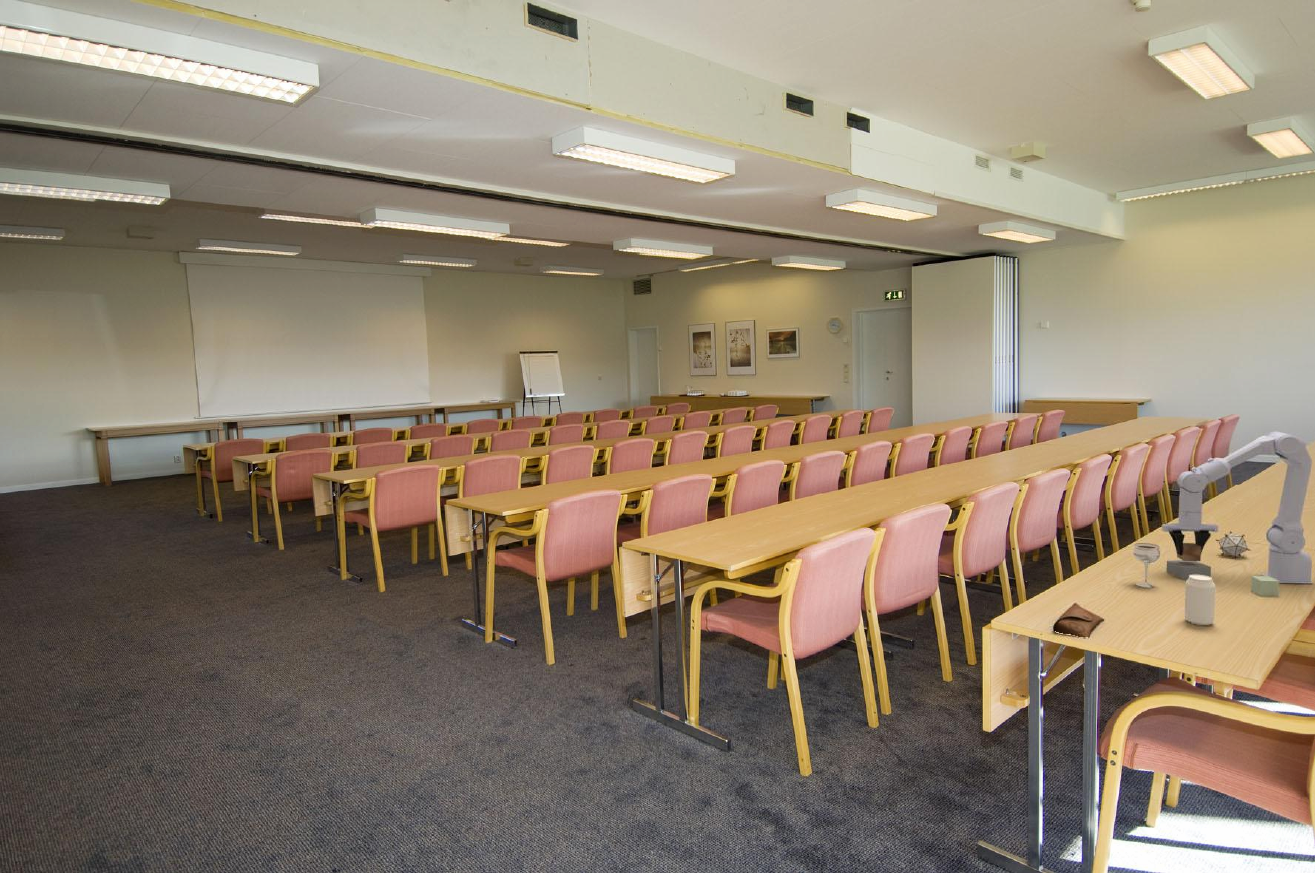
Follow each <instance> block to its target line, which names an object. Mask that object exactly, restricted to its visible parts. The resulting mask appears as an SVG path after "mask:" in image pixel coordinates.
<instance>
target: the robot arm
mask: <svg viewBox="0 0 1315 873" xmlns="http://www.w3.org/2000/svg"><path fill="white" fill-rule="evenodd" d="M1306 444H1307V443H1306V442H1304V440H1302V438H1299V437H1298V436H1297V435H1295V434H1290V433H1285V432H1281V431H1277V430H1275V431H1271V432H1268V433H1266V435H1262V436H1259V437H1257V438H1256V439H1254V440H1253V441H1251V442H1249V443H1248V444H1245V445H1244V446H1242V447H1241V448H1239V449H1238V450H1236V451H1234V452H1232V453H1230V454H1228V455H1227V456H1225V457H1223V458H1221V457H1214V458H1213V457H1210V458H1208V459H1206V460H1207V461H1206V462H1204V463H1203V464H1200V465H1198V466H1197V467H1195V466H1193V467H1192V468H1191V471H1190V470H1189V471H1184V472H1183V471H1182V472H1181V473H1180V474H1179V476H1178V478H1177V479H1176V483H1177V485H1178V487H1179V496H1178V498H1179V499H1178V500H1179V501H1178V503H1179V505H1178V523H1166V524H1165V523H1162V524H1161V531H1163V532H1165V533H1168V534H1169V535H1170V537H1171V539H1172V541H1173V544H1174V548H1175V550H1176V555H1177V554H1178V555H1182V553H1183V543H1184V542H1185V541H1184V540H1185V536H1186V535H1185V534H1183V532H1193V533H1194V540H1195V542H1194V543H1195V544H1197V545H1199V546H1201V554H1202V552H1203V549H1204V548H1205V545H1206V544H1207V542H1208V540H1209V539H1210V538H1211V536H1212V533H1211V532H1213V533H1218V532H1219V526H1218V525H1217V524H1209V523H1208V524H1207V523H1202V519H1203V518H1202V515H1203V512H1202V511H1203V491H1204V490H1205V488H1206V487H1207V485H1209V484H1211V483H1213V482H1215V481H1217V480H1219V479H1221V478H1223V477H1226V476H1227V475H1229V474H1230V472H1231V469H1232V468H1234V467H1236V466H1237V465H1240V464H1242V463H1245V462H1247V461H1249V460H1251V459H1253V458H1255V457H1257V456H1261V455H1262V456H1263V455H1267V456H1269V455H1270V456H1274V455H1275V456H1278V457H1279V458H1280V459H1281V460H1282V461H1283V462H1284V463H1285V464H1286V465H1287V467H1286V471H1285V477H1284V481H1283V487H1282V492H1281V497H1280V502H1279V507H1278V512H1277V516H1276V517H1275V518H1273V520H1272V521H1271V526H1270V527H1269V528H1268V529H1267V530H1266V534H1265V537H1266V540H1267V542H1268V543H1269V544H1270V545H1269V548H1268V564H1267V565H1268V566H1267V567H1268V568H1267V573H1261V574H1260V576H1270V577H1272V578H1274V579H1276V580H1278V581H1279V584H1313V581H1312V568H1313V566H1312V565H1313V564H1312V563H1313V561H1312V560H1313V559H1312V556H1311V555H1310V553H1309V552H1308V551H1306V550H1303V549H1304V548H1305V545H1306V539H1305V537H1304V531H1305V530H1304V526H1303V525H1302V522H1301V520H1302V515H1303V510H1304V505H1305V500H1306V495H1307V491H1308V485H1309V480H1310V476H1311V470H1312V465H1313V460H1312V458H1311V455H1310V454H1309V451H1308V449H1307V448H1306V446H1307V445H1306Z"/></svg>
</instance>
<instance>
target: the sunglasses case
mask: <svg viewBox="0 0 1315 873" xmlns="http://www.w3.org/2000/svg"><path fill="white" fill-rule="evenodd" d="M1104 621H1105V618H1103V617H1102V616H1100V615H1097V614H1095V613H1093V612H1091V611H1089V610H1088V609H1086V608H1084V607H1082V606H1081V605H1079V604H1078V603H1077V602H1074V603H1073V604H1072V605H1071V606H1070V607H1069V608H1067V609H1066V610H1065V611H1064V613H1062V614H1061V615H1060V616H1059V618H1058V619H1057V620H1056V621H1055V622H1054V623H1053V626H1052V631H1053V632H1054V633H1055V631H1056V632H1059V633H1063V634H1071V635H1075V636H1078V637H1077V638H1079V637H1088V638H1089V637H1090V636H1091V635H1090V634H1092V633H1093V632H1092V631H1094V630H1095V629H1096V628H1097V627H1098V626H1099V625H1100V624H1101V623H1102V622H1104ZM1100 622H1101V623H1100ZM1099 623H1100V624H1099ZM1097 625H1098V626H1097ZM1096 626H1097V627H1096ZM1091 632H1092V633H1091ZM1089 639H1090V638H1089Z"/></svg>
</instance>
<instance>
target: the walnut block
mask: <svg viewBox="0 0 1315 873" xmlns="http://www.w3.org/2000/svg"><path fill="white" fill-rule="evenodd" d="M1176 557H1177V558H1178V559H1179V560H1183V561H1197V562H1201V560H1202V553H1201V546H1199V545H1197V544H1195V542H1183V553H1182V555H1178V554H1177V553H1176Z"/></svg>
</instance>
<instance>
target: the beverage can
mask: <svg viewBox="0 0 1315 873" xmlns="http://www.w3.org/2000/svg"><path fill="white" fill-rule="evenodd" d="M1184 591H1185V592H1184V619H1185V620H1186V621H1188V623H1190V622H1191V623H1190V624H1193V625H1195V624H1196V625H1195V626H1201V625H1206V626H1210V625H1211V624H1214V622H1215V607H1216V583H1214V580H1213V578H1212V576H1211V577H1209V576H1205V575H1189V578H1188V580H1185V590H1184Z"/></svg>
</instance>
